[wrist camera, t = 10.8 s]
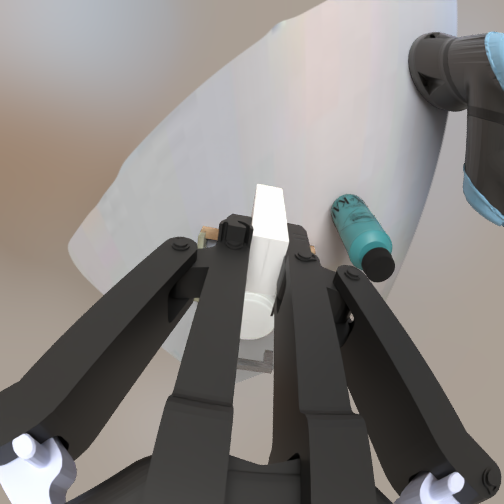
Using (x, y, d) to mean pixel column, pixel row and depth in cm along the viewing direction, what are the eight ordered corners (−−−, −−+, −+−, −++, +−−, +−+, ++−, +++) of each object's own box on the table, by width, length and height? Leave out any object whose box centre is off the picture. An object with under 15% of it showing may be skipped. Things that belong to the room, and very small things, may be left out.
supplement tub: (242, 238, 53) (234, 288, 40) (285, 261, 55) (289, 313, 42) (220, 275, 57) (207, 327, 45) (260, 294, 59) (258, 347, 47)
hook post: (273, 303, 61) (272, 371, 45) (271, 310, 62) (270, 377, 46) (218, 294, 60) (202, 361, 45) (217, 301, 61) (202, 367, 46)
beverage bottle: (366, 215, 49) (409, 280, 32) (334, 228, 51) (363, 299, 34) (356, 184, 46) (402, 238, 29) (322, 198, 48) (350, 260, 31)
